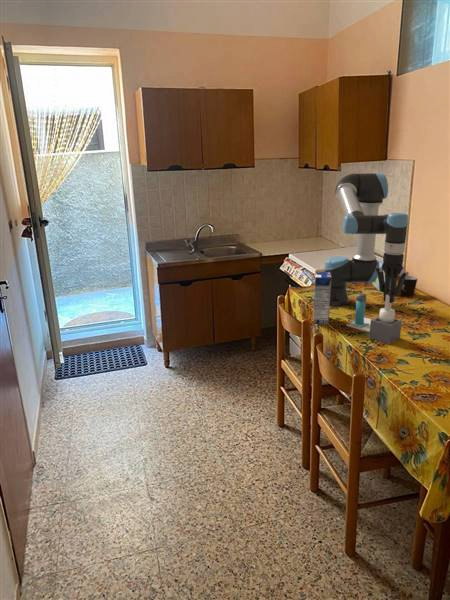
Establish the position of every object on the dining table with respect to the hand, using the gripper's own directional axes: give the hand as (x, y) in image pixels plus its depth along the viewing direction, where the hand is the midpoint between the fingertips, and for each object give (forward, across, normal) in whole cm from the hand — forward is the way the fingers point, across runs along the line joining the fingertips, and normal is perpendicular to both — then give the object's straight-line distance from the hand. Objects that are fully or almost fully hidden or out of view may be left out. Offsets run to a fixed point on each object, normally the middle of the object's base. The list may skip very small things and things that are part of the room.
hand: (387, 309), depth 184 cm
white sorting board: (+13, -12, +8) cm, 19 cm away
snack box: (+13, -37, +65) cm, 76 cm away
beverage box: (+13, -31, -2) cm, 34 cm away
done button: (+5, 0, 0) cm, 5 cm away
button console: (+13, 0, 0) cm, 13 cm away
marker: (+12, -16, +6) cm, 20 cm away
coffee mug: (+13, -23, +66) cm, 71 cm away
